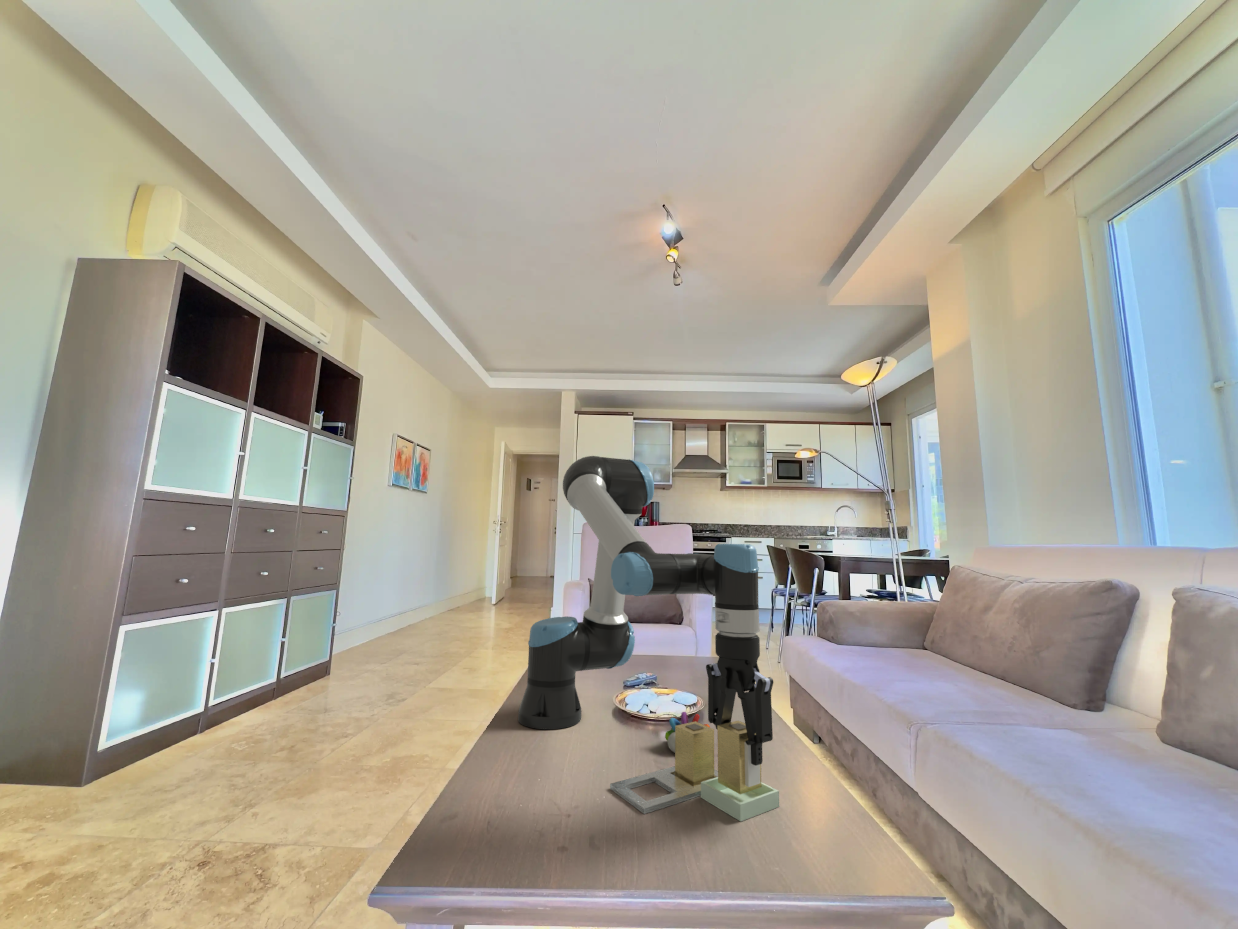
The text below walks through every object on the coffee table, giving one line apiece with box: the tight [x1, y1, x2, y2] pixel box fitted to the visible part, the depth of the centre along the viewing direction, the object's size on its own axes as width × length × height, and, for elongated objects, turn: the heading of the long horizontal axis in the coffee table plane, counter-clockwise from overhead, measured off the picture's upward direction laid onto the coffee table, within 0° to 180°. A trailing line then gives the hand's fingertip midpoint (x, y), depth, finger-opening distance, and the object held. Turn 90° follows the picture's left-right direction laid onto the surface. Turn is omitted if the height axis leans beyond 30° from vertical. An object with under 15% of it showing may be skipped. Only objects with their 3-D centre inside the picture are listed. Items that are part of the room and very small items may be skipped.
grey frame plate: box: [609, 765, 718, 815], centre depth 91 cm, size 10×20×1 cm, turn 123°
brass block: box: [716, 720, 762, 794], centre depth 87 cm, size 5×5×9 cm
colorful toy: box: [664, 711, 711, 753], centre depth 109 cm, size 8×10×7 cm
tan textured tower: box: [674, 721, 715, 786], centre depth 94 cm, size 5×5×9 cm
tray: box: [700, 777, 780, 822], centre depth 86 cm, size 9×9×2 cm
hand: (739, 777), depth 86 cm, fingers closed on brass block, 5 cm apart
